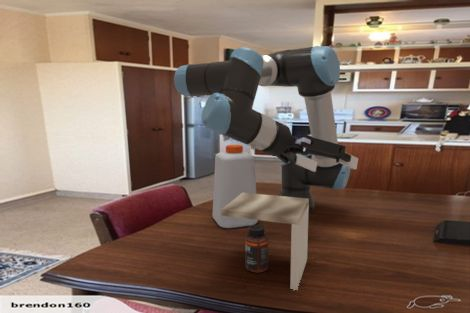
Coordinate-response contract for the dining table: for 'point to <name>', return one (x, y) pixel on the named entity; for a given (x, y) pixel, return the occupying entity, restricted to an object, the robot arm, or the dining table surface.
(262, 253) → the supplement bottle
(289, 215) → the cream l-shaped stand
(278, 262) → the dining table surface
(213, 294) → the dining table surface
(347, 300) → the dining table surface
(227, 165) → the plastic bottle
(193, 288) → the dining table surface
